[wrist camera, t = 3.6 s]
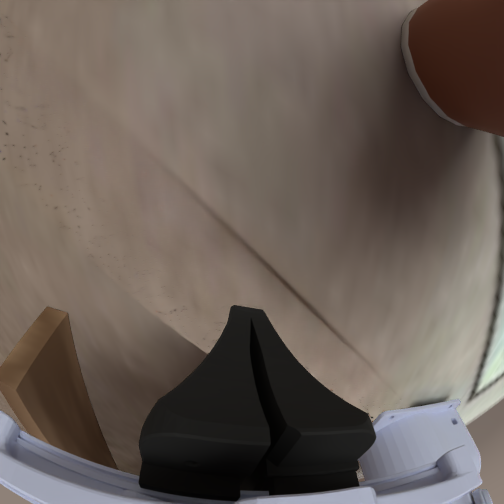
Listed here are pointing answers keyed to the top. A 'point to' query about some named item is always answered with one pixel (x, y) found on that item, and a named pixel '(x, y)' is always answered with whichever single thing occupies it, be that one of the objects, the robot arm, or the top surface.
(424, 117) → the top surface
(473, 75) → the coffee cup
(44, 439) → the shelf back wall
